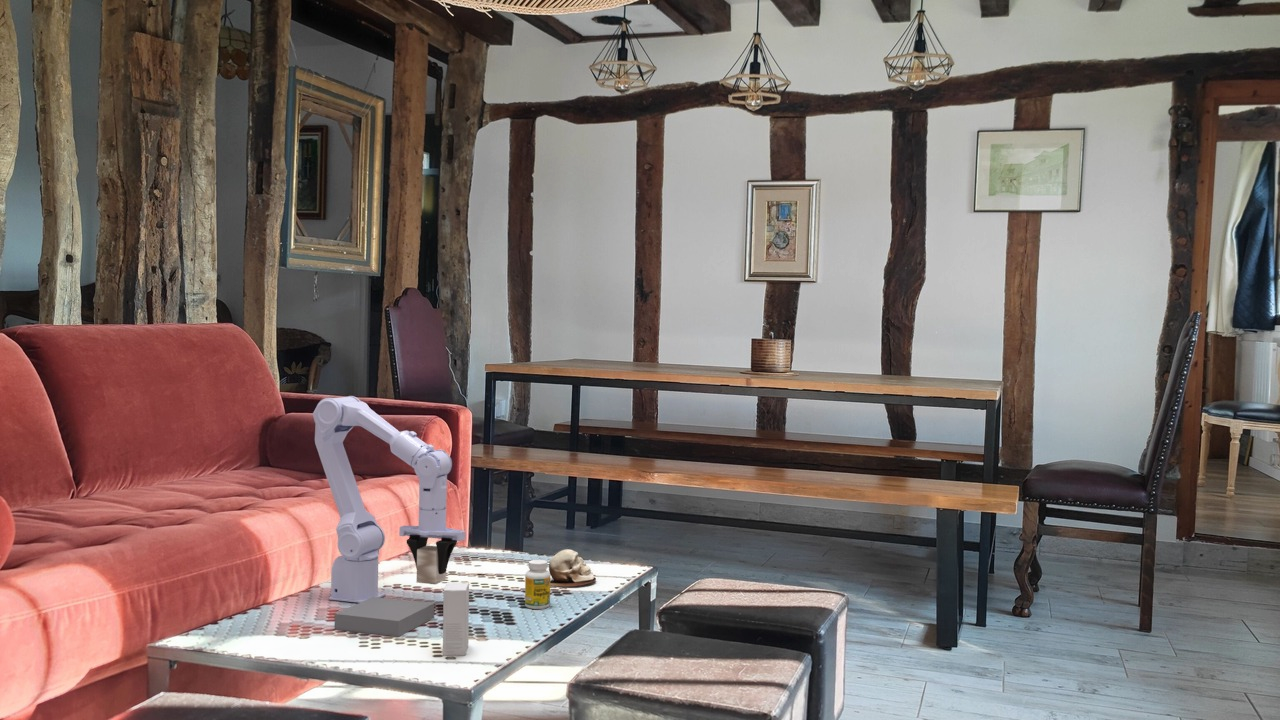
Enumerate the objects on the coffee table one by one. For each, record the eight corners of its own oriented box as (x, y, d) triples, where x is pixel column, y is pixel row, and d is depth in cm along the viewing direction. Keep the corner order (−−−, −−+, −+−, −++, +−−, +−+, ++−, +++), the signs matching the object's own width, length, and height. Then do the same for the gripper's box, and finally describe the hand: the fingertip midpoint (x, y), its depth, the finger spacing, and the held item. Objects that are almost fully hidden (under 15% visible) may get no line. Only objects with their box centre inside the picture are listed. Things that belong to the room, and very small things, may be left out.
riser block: (334, 629, 199) (334, 613, 199) (373, 611, 212) (373, 596, 212) (398, 636, 195) (398, 621, 195) (434, 617, 208) (434, 603, 208)
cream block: (416, 582, 216) (417, 549, 216) (426, 577, 220) (427, 545, 220) (435, 584, 214) (436, 551, 214) (445, 579, 219) (446, 547, 219)
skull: (601, 572, 247) (597, 546, 240) (593, 609, 240) (588, 583, 233) (553, 567, 249) (547, 542, 242) (543, 604, 242) (537, 578, 235)
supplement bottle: (542, 601, 223) (543, 557, 222) (554, 607, 218) (555, 562, 218) (520, 605, 220) (521, 560, 219) (531, 610, 215) (532, 565, 215)
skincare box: (445, 645, 190) (446, 581, 189) (468, 645, 190) (469, 581, 190) (441, 656, 184) (442, 589, 183) (465, 656, 184) (467, 589, 184)
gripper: (392, 508, 215) (391, 572, 215) (454, 513, 211) (453, 579, 211) (409, 503, 222) (408, 565, 222) (470, 508, 218) (468, 571, 218)
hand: (431, 572), depth 217 cm, fingers closed on cream block, 4 cm apart
